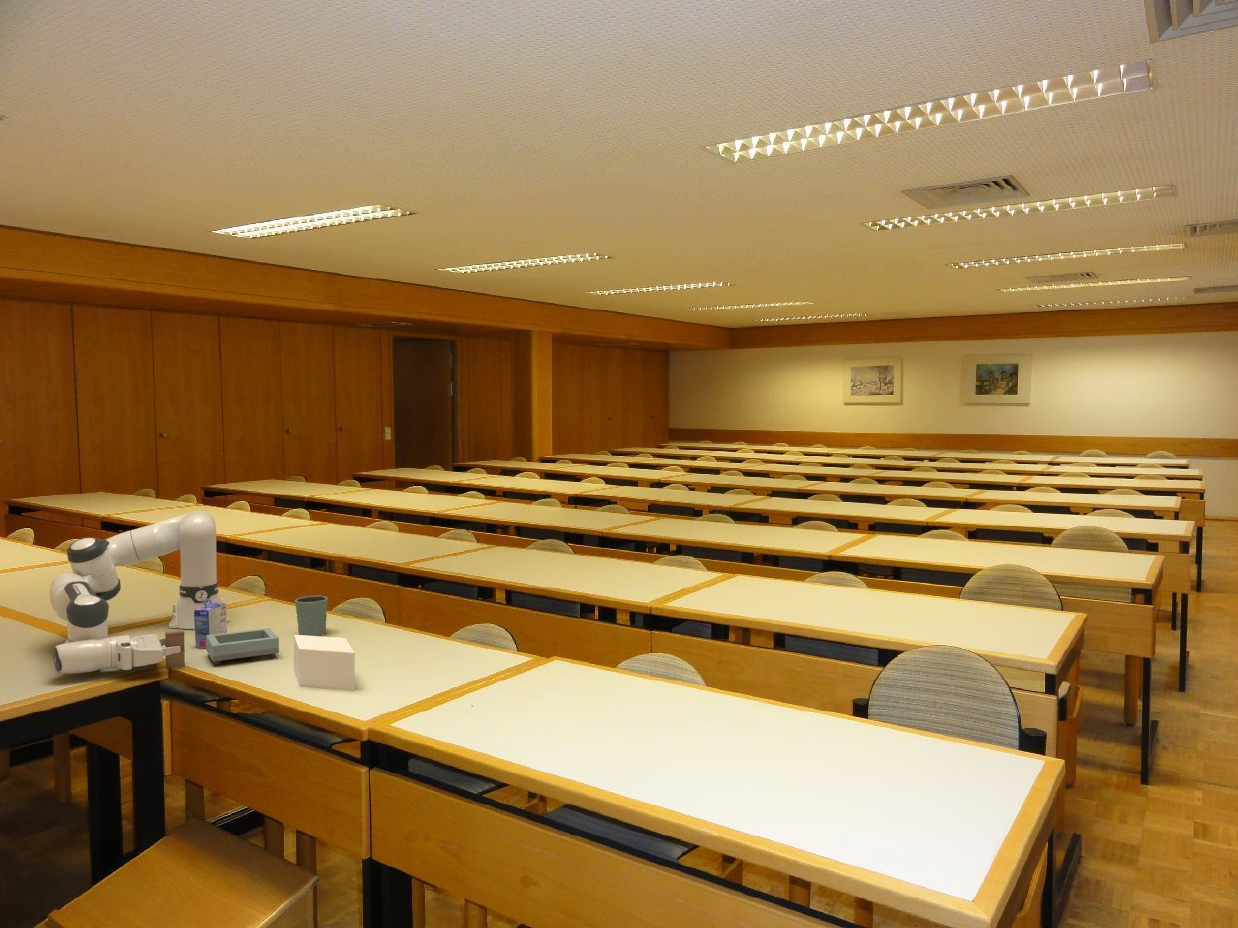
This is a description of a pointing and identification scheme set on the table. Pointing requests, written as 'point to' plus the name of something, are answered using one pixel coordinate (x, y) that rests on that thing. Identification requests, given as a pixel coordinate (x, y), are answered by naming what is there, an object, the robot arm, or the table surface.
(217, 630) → the ink cartridge box
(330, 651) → the white rectangular block
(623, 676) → the table surface
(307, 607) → the grey tapered cup
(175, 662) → the walnut part
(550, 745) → the table surface
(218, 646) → the grey storage tray
